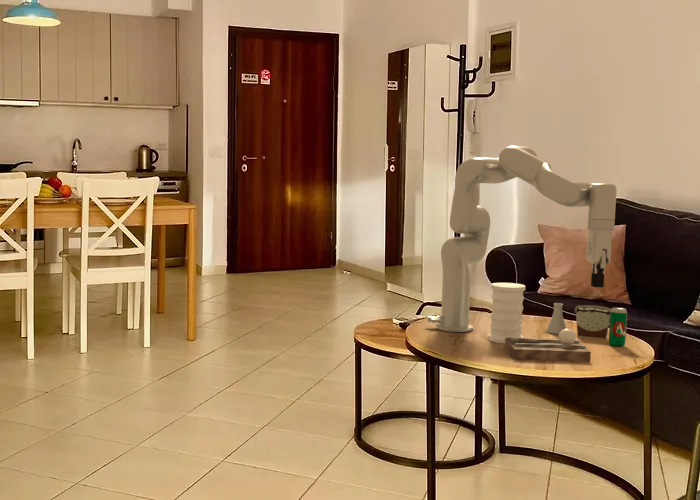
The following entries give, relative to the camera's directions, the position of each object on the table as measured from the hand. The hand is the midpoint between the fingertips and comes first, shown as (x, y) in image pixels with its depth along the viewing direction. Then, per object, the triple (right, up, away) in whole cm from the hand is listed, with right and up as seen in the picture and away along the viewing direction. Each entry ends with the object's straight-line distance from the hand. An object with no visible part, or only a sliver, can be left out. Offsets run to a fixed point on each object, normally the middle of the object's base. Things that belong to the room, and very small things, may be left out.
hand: (597, 286), depth 239 cm
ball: (-9, -15, +2) cm, 18 cm away
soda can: (+12, -20, +18) cm, 29 cm away
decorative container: (-23, -19, +22) cm, 37 cm away
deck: (-15, -21, +3) cm, 25 cm away
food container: (+8, -18, +32) cm, 38 cm away
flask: (-3, -18, +36) cm, 40 cm away
